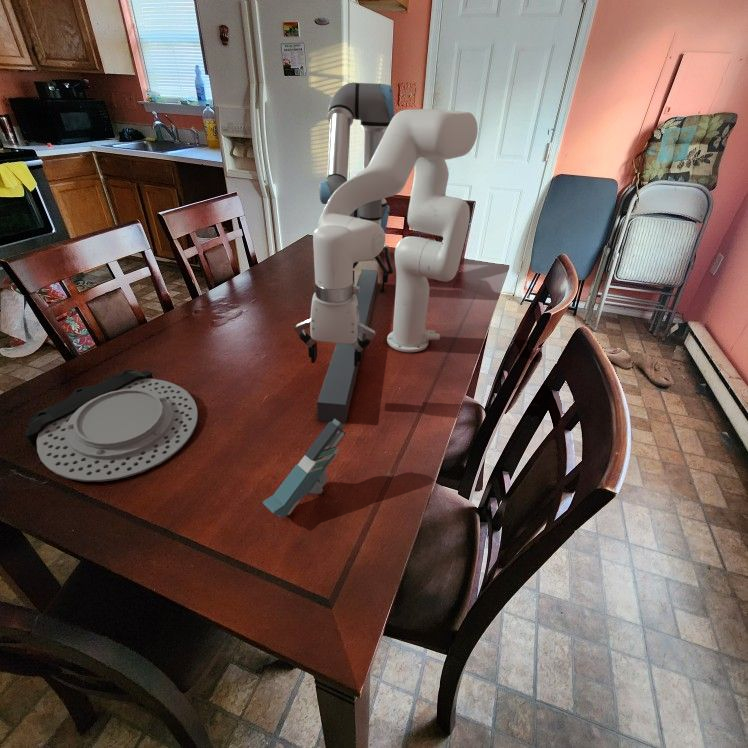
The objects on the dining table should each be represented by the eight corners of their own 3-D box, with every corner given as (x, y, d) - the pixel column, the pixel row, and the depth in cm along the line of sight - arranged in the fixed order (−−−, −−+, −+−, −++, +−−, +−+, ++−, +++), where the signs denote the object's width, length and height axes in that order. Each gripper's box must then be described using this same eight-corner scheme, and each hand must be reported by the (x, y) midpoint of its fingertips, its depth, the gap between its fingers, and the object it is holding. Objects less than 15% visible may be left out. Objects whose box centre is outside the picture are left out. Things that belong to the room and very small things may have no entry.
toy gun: (362, 441, 81) (342, 423, 73) (302, 525, 77) (273, 515, 69) (349, 432, 83) (328, 413, 75) (290, 513, 79) (260, 502, 71)
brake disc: (18, 425, 89) (8, 408, 86) (155, 369, 108) (150, 354, 105) (75, 511, 73) (64, 493, 70) (224, 428, 92) (221, 411, 89)
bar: (345, 423, 95) (345, 404, 92) (317, 420, 95) (316, 402, 92) (377, 283, 163) (378, 270, 159) (361, 282, 163) (361, 269, 160)
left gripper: (403, 229, 147) (398, 287, 160) (338, 225, 149) (339, 283, 161) (402, 235, 141) (397, 295, 154) (335, 231, 142) (336, 290, 155)
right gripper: (378, 286, 86) (375, 356, 95) (296, 280, 87) (301, 349, 96) (375, 301, 79) (371, 374, 89) (287, 295, 80) (293, 367, 90)
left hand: (367, 289), depth 157 cm, fingers open, 11 cm apart
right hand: (335, 361), depth 93 cm, fingers open, 9 cm apart
